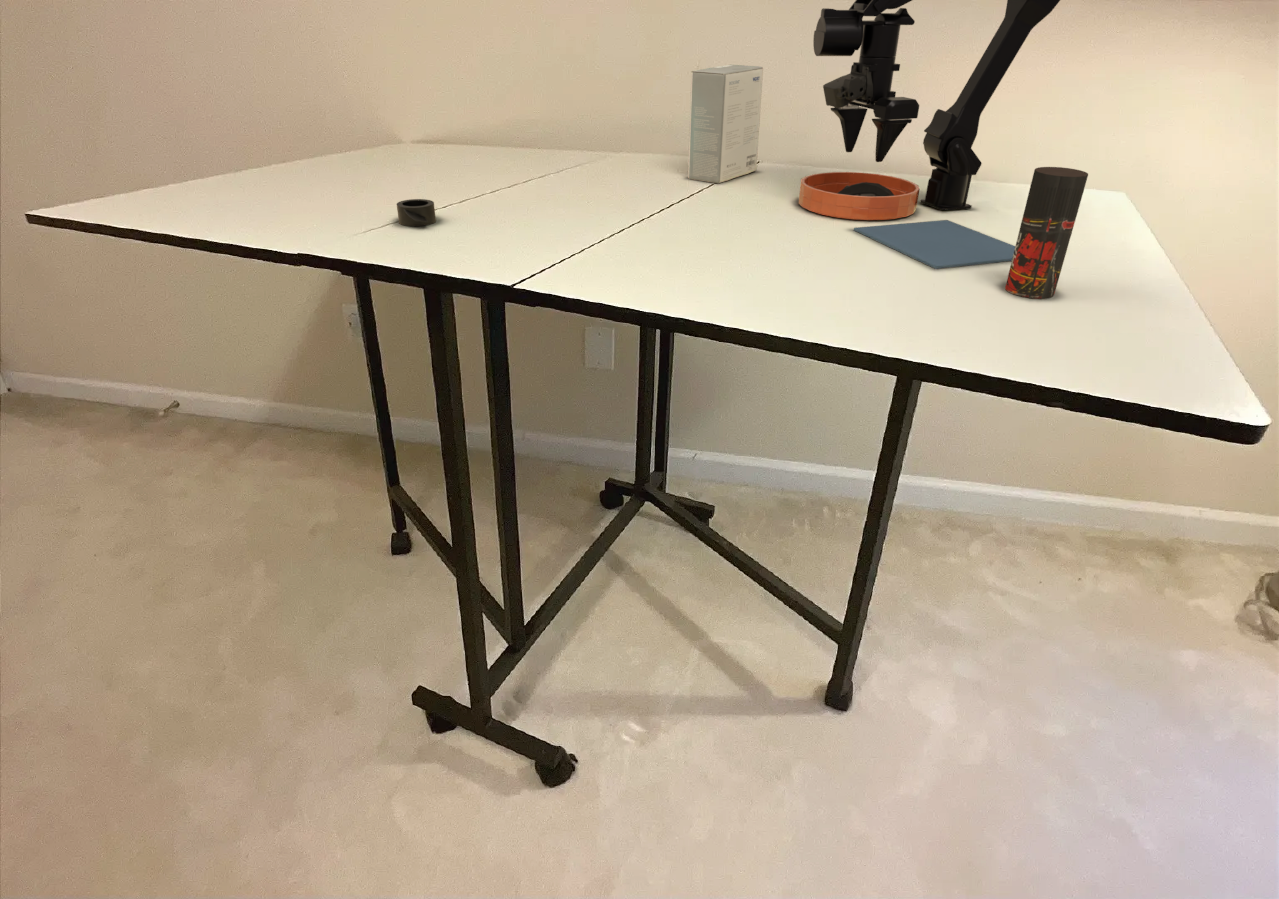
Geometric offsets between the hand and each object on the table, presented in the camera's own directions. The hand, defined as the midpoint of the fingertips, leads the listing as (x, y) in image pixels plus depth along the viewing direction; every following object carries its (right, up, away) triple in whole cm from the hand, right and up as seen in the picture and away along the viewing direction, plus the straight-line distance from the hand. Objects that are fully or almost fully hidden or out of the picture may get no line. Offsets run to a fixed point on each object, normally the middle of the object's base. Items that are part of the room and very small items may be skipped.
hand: (863, 156), depth 139 cm
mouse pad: (+8, -19, -15) cm, 25 cm away
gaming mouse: (0, -7, +4) cm, 8 cm away
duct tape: (-74, -14, -8) cm, 76 cm away
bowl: (0, -7, +4) cm, 9 cm away
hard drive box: (-22, +6, +26) cm, 34 cm away
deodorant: (+12, -30, -34) cm, 47 cm away
